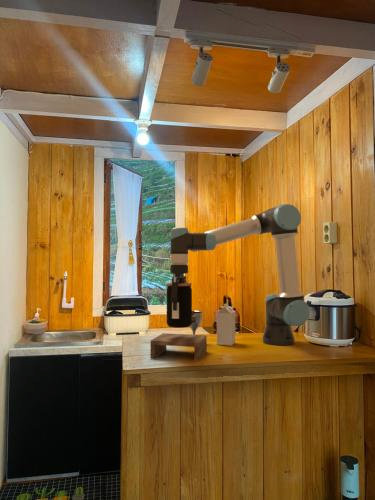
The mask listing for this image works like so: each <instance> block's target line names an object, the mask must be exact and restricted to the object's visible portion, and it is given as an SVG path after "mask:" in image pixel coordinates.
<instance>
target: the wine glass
mask: <svg viewBox="0 0 375 500" xmlns="http://www.w3.org/2000/svg"><path fill="white" fill-rule="evenodd" d="M202 321H203V311H200V310H192V324H191V325H190V327H189V329H191V331H192V335H196V331H197V330H198V329H199V327H200V325H201V324H202Z"/></svg>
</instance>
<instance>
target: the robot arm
mask: <svg viewBox="0 0 375 500" xmlns="http://www.w3.org/2000/svg"><path fill="white" fill-rule="evenodd" d="M301 223H302V215H301V212H300V210H299V209H298V208H297V207H296V206H294V205H292V204H289V203H283V204H279V205H277V206H275V207H272V208H269V209H267V210H265V211H263V212H260V213H258V214H255V215H252V216H251V218H248V219H246V220H245V219H244V220H242V221H238V222H235V223H230V224H228V225H224V226H221V227H218V228H213V229H211V230H207V231H204V232H189V228H188V227H173V228H171V230H170V256H169V260H170V274H172V275H174V276H173V277H171V283H172V288H171V298H170V302H172V318H173V319H179V302H178V299H179V293H178V283H180V284H182V283H187V276H185V275H186V274H188V273H189V265H188V264H189V251H191V252H193V253H194V252H195V253H196V252H200V251H207V252H209V251H213V250H216V246H219V245H222V244H226V243H228V242H232V241H235V240H240V239H242V238H246V237H249V236H252V235H256V236H260V235H263V234H269V233H270V234H271V237H272V238H273V239H274V241H275V252H276V262H277V271H278V274H277V275H278V283H279V293H278V294H268V295H266V297H265V323H266V324H265V328H264V331H263V335H262V343H263V344H268V345H274V346H290V345H293V344H295V339H296V338H295V335H294V333H293V330H292V326H293V327H301V326H302V325H304V324H305V323H306V322H307V321H308V320H309V318H310V315H311V309H310V306H309V305H308V303H307V302H306V301H305V296H304V295H305V294H304V293H303V292H302V291H301V289H300V281H299V267H298V260H297V247H296V238H295V237H297V235H298V234H299V231H298V227H299V226H300V225H301ZM184 274H185V275H184Z"/></svg>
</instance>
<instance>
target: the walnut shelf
mask: <svg viewBox="0 0 375 500" xmlns="http://www.w3.org/2000/svg"><path fill="white" fill-rule="evenodd" d="M207 338H208V336H207V335H205V334H195V335H193V334H187V333H185V334H184V333H169V332H168V333H167V332H165V333H161V334H159V335H158V336H156V337H153V338H152V339H150V355H149V356H150V359H154V358H156V357H158V356H159V355H161V354H162V353H163V352H165V351H166V350H167V346H172V347H190V348H191V347H192V348H194V349H193V350H194V356H193V357H194V361H195V362H199V361H201V359H202V358H203V357H204V355H205V354H206V353H207V349H208V348H207V347H208V345H207V343H208V342H207Z"/></svg>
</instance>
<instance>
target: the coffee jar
mask: <svg viewBox="0 0 375 500" xmlns="http://www.w3.org/2000/svg"><path fill="white" fill-rule="evenodd" d="M192 284H193V283H192V282H186V283H182V284H180V283H178V293H179V299H178V302H179V319H173V318H172V302H170V298H171V288H172V282H167V283H166V286H167V288H166V324H167V327H170V328H175V329H176V328H177V329H178V328H179V329H185V328H190V325H191V324H192V311H193V289H192V286H193V285H192Z"/></svg>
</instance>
